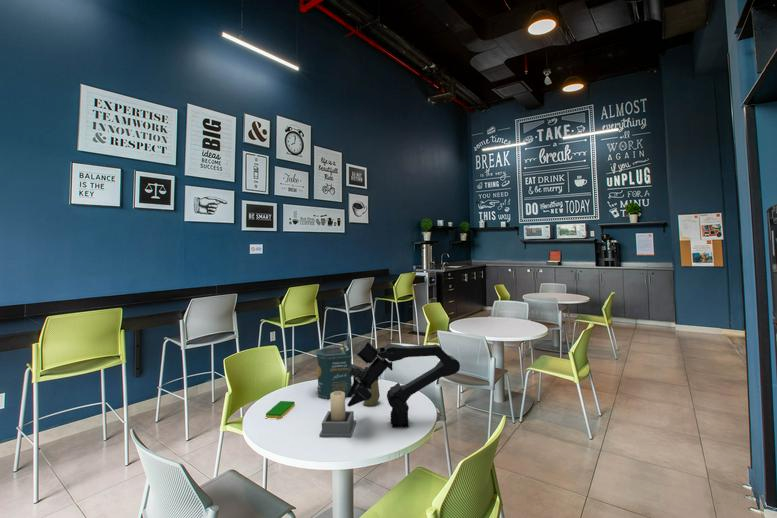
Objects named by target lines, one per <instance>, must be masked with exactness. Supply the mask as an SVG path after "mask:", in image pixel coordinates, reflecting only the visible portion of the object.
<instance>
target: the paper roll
mask: <svg viewBox="0 0 777 518" xmlns="http://www.w3.org/2000/svg"><path fill="white" fill-rule="evenodd" d="M330 399H331V400H330V411H331V422H346V417H345V411H346V398H345V393H344V392H342V391H335V392H332V393H331V394H330Z"/></svg>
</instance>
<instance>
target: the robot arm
mask: <svg viewBox="0 0 777 518" xmlns="http://www.w3.org/2000/svg"><path fill="white" fill-rule="evenodd" d="M355 354H356V355H357V357H359V358H360V359H361V360H362V361H363V362H364V363H365V364H371V365H370V366H369V365H368V366H365V367H364V368H363V367H362V366H358V365H356V364H352V363H351V366H350V368H349V371H348V374H349V375H351V377H352V379H353V382H352V384H351V385H352V387H351V388H350V390H349V392H348V394H347V397H348V398H347V399H349V398H350V399H349V402H348V403H347V407H348V408H350V407H352V406H354V405H355V406H356V404H359V403H362V402H364V401H366V400H369V399H370V398H371V397H372V394H371V390H370V389H371V388H372V384H373V383H374V382H375V381H378V382H379V380H380V377H381V376H382V374H383V373H384V372H385V371H386V370H387V368H388V369H389V370H390V371H393V369H394V368H393V362H396V361H401V360H404V359H405V358H416V357H417V358H418V357H436V358H437V359H439V361H438V362H437V364H436V365H435V366H434V367H432V368H431V369H429V370H428V371H426V372H423V374H421V375H419V376H417V377H416V378H415V379H413V380H410V381H409V382H408V383H406V384H402V385H401V384H400V382H398V383H396V384H395V385H393V386H390V388H389V390H388V391H387V393H386V399H387V402H388V405H389V406H390V407H391V411H390V424H391V428H409V420H410V419H409V409H410V407H409V404H408V402H407V401H408V400H409V399H410V397H411V396H413V395H414V394H416V393H417V392H419V391H421V390H422V389H424V388H425V387H427V386H429V385H430V384H432V383H434V382H436V381H437V380H439V379H441V378H444V377H450V376H452V375H455V374H457V373H458V372H459V371H460V369H461V363H460V362H459V360H457V359H456V358H455V357H454V356H453V355H450V354H449V355H448V354H447V353H446V352H445V351H444V350H443V349H442V347H441V346H440V345H439V344H435V343H434V344H425V345H408V346H407V345H403V344H396V343H386V345H384V346H382V347H381V346H380V347H377V348H376V347H375V346H374V345H372V343H371V341H368V340H367V341H366V342H365V343H363V344H362V345H360V346H359V348H358V349H357V350H356V353H355ZM351 396H352V397H351Z"/></svg>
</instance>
